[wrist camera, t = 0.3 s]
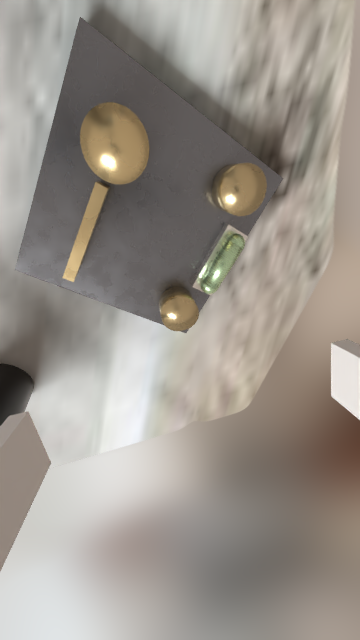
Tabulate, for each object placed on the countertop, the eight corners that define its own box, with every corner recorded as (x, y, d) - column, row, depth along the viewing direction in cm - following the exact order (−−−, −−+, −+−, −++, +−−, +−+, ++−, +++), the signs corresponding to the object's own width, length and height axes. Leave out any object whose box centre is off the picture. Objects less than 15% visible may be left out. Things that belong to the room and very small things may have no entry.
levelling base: (83, 28, 22) (71, -12, 17) (274, 178, 31) (300, 179, 26) (21, 264, 31) (1, 281, 26) (183, 326, 40) (191, 346, 35)
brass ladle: (98, 95, 23) (93, 83, 20) (156, 136, 25) (160, 131, 22) (48, 258, 29) (38, 268, 26) (98, 279, 31) (94, 290, 28)
